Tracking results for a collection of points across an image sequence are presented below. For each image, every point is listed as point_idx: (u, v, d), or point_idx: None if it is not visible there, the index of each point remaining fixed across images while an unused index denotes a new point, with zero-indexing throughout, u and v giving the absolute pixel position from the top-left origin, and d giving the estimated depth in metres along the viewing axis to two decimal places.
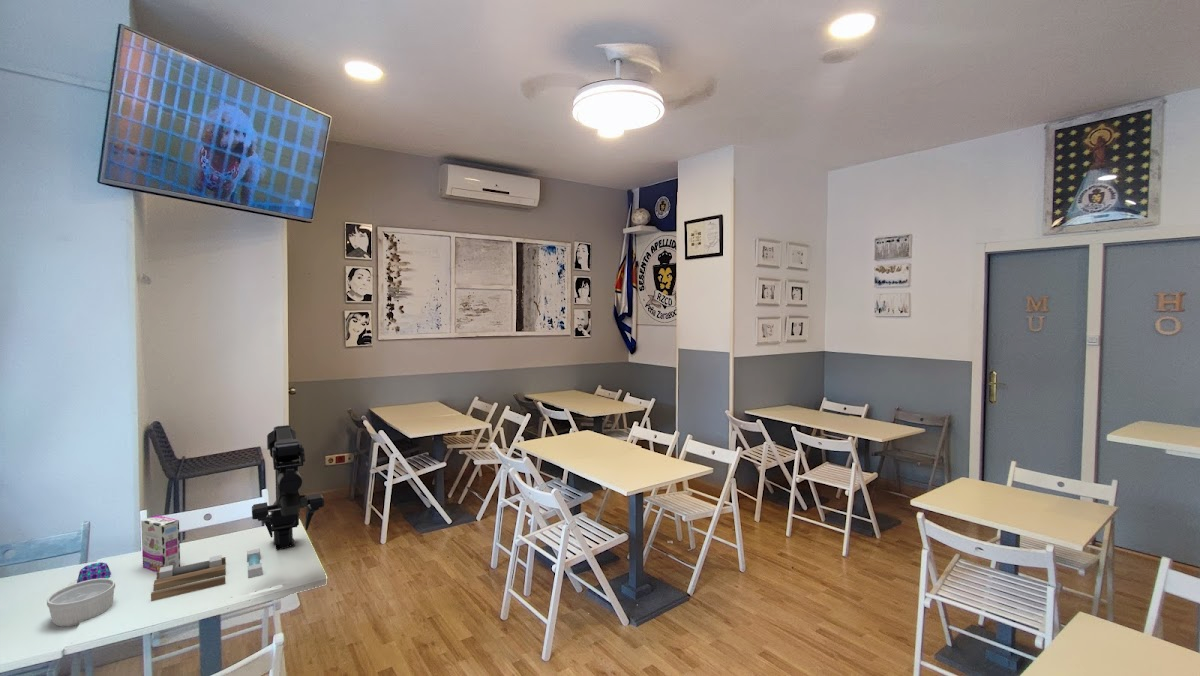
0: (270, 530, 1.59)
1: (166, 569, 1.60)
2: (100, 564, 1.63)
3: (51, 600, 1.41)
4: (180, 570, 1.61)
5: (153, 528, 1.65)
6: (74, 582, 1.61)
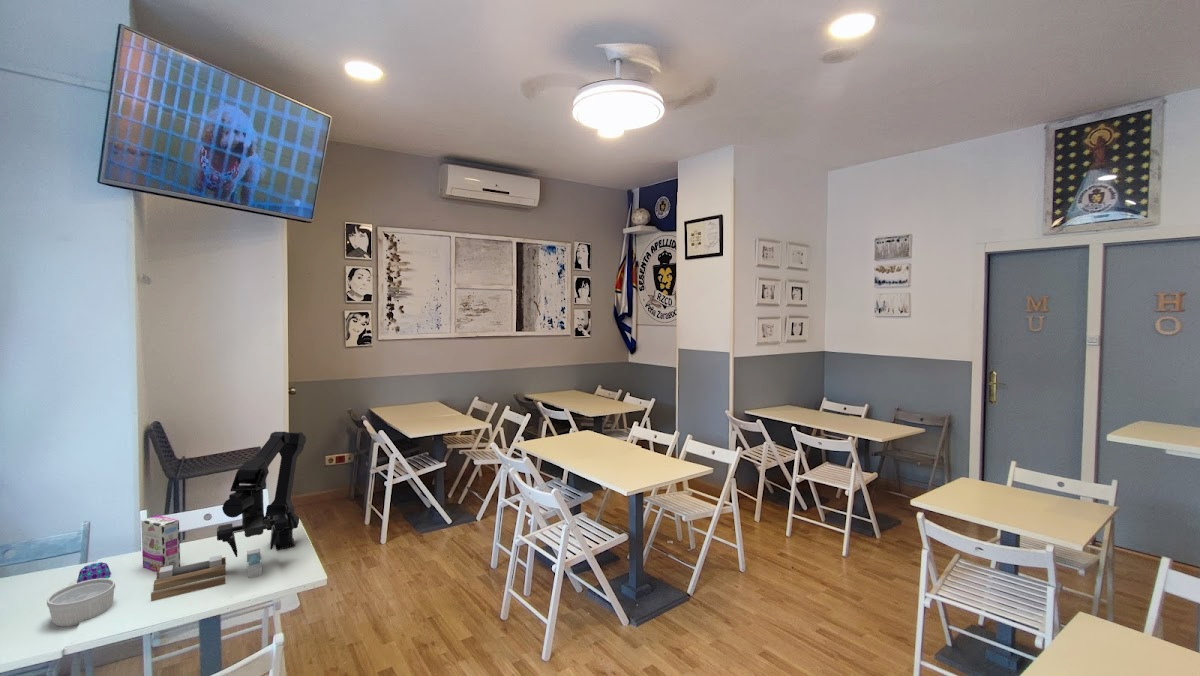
0: (235, 550, 1.66)
1: (166, 569, 1.60)
2: (100, 564, 1.63)
3: (51, 600, 1.41)
4: (180, 570, 1.61)
5: (153, 528, 1.65)
6: (74, 582, 1.61)
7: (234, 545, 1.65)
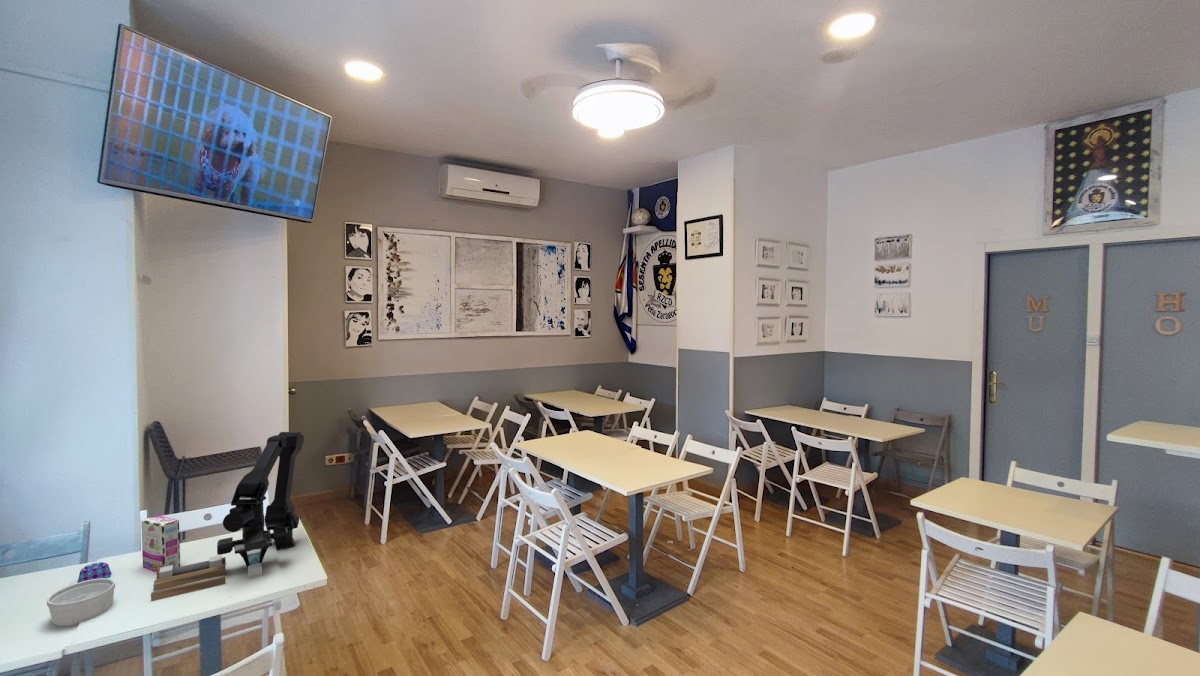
0: (247, 562, 1.68)
1: (166, 569, 1.60)
2: (100, 564, 1.63)
3: (51, 600, 1.41)
4: (180, 570, 1.61)
5: (153, 528, 1.65)
6: (74, 582, 1.61)
7: (246, 557, 1.67)
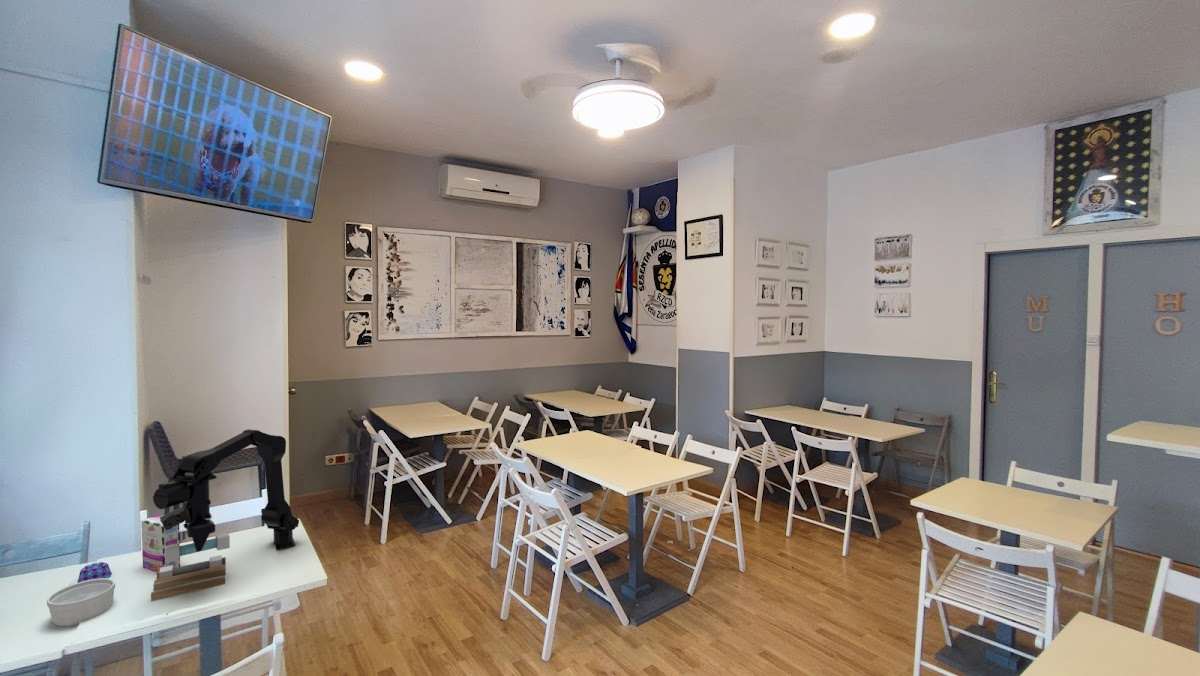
0: (193, 540, 1.59)
1: (166, 569, 1.60)
2: (100, 564, 1.63)
3: (51, 600, 1.41)
4: (180, 570, 1.61)
5: (153, 528, 1.65)
6: (74, 581, 1.61)
7: None
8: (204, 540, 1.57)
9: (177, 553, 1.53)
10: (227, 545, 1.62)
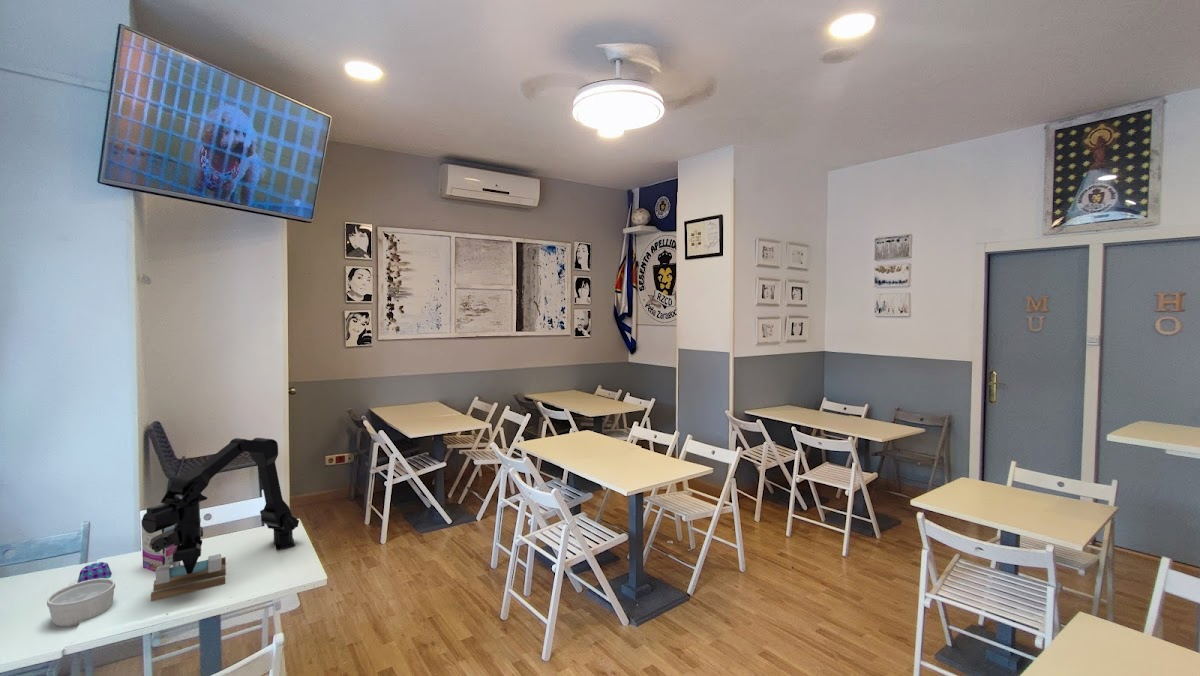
0: None
1: None
2: (100, 564, 1.63)
3: (51, 600, 1.41)
4: None
5: None
6: (74, 582, 1.61)
7: None
8: (194, 563, 1.55)
9: (167, 575, 1.53)
10: (218, 567, 1.60)
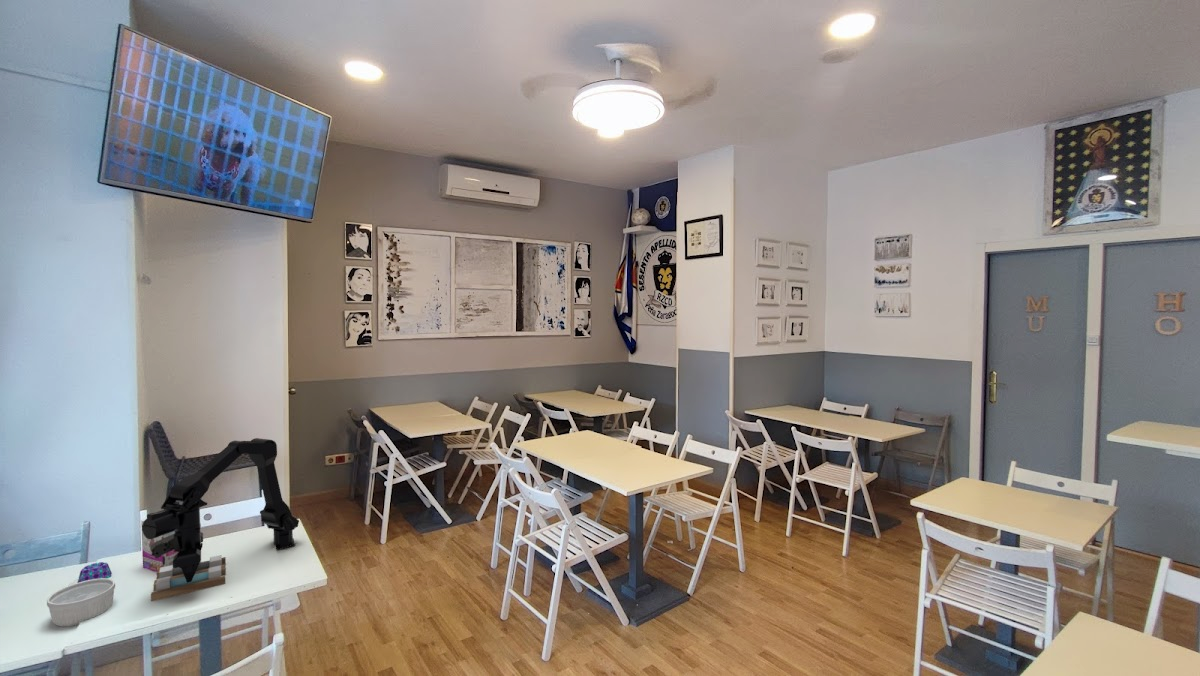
0: None
1: (166, 569, 1.60)
2: (100, 564, 1.63)
3: (51, 600, 1.41)
4: (180, 570, 1.61)
5: None
6: (74, 582, 1.60)
7: None
8: (193, 571, 1.54)
9: (167, 587, 1.53)
10: None
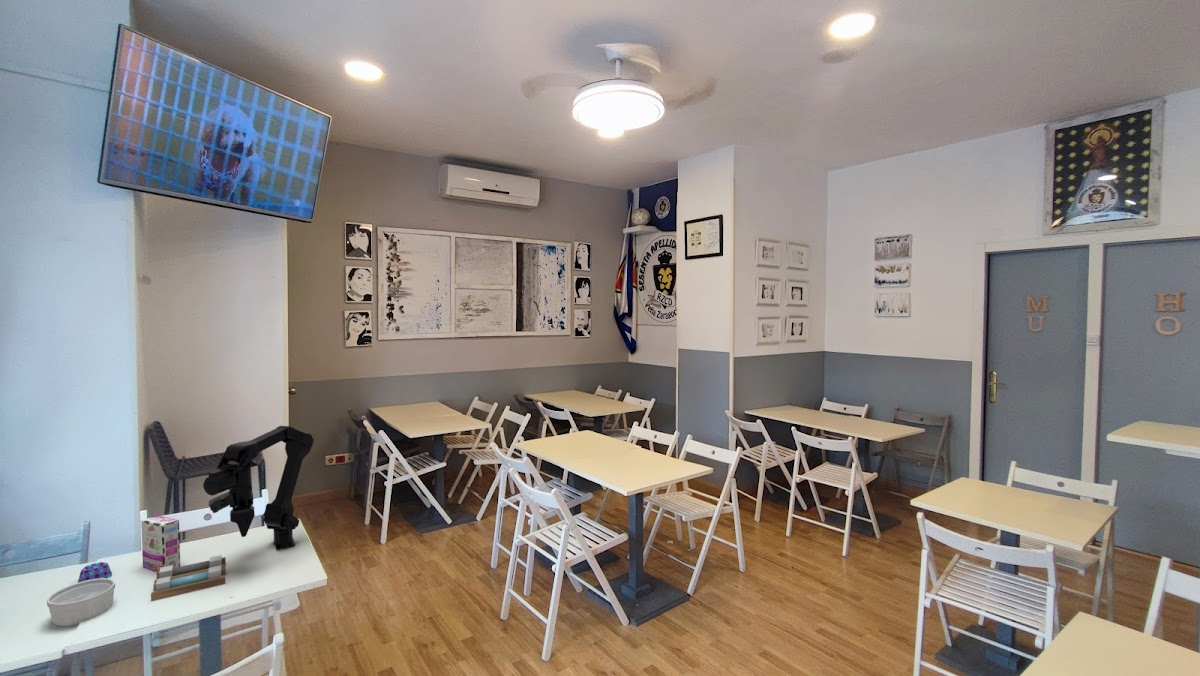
0: None
1: (166, 569, 1.60)
2: (100, 564, 1.63)
3: (51, 600, 1.41)
4: (180, 570, 1.61)
5: (153, 528, 1.65)
6: (73, 582, 1.60)
7: None
8: (248, 526, 1.67)
9: (167, 587, 1.53)
10: None
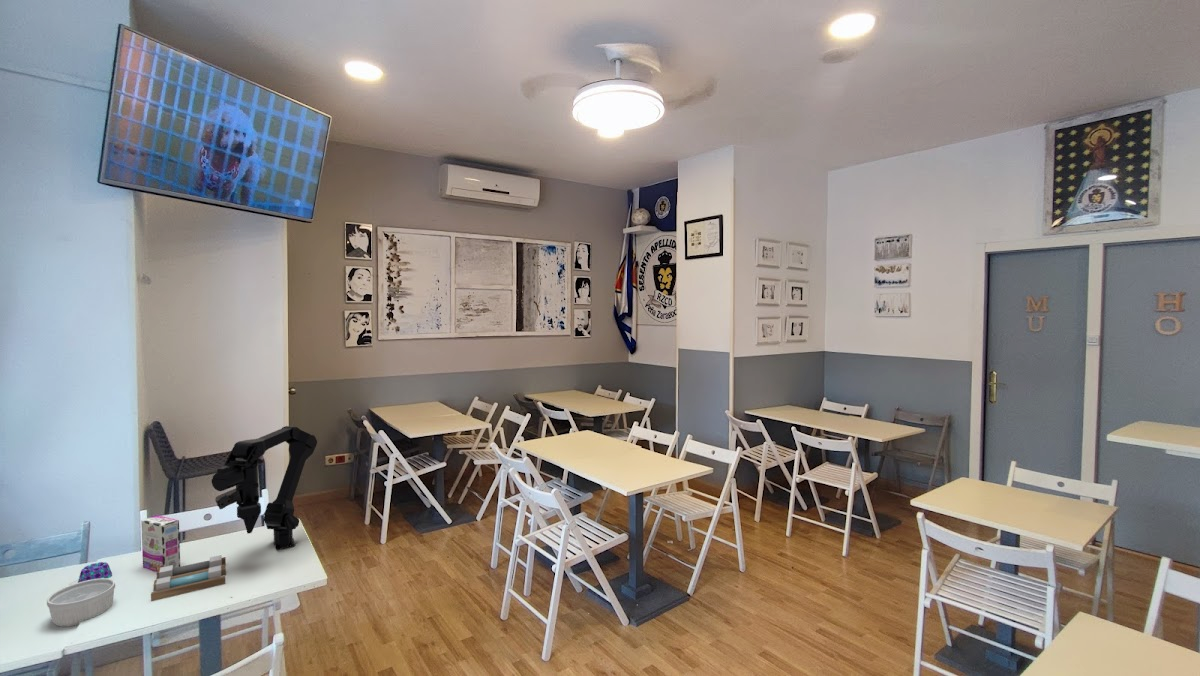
0: None
1: (166, 569, 1.60)
2: (100, 564, 1.63)
3: (51, 600, 1.41)
4: (180, 570, 1.61)
5: (153, 528, 1.65)
6: (73, 583, 1.60)
7: None
8: (254, 523, 1.68)
9: (167, 587, 1.53)
10: None
